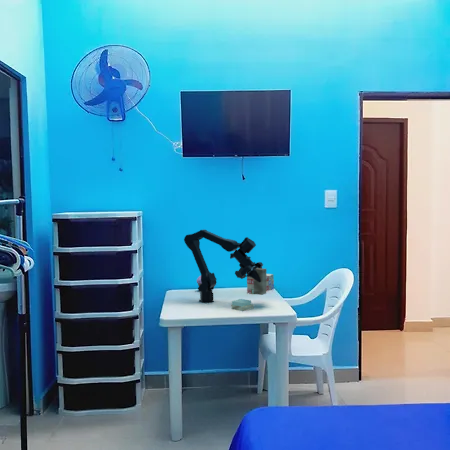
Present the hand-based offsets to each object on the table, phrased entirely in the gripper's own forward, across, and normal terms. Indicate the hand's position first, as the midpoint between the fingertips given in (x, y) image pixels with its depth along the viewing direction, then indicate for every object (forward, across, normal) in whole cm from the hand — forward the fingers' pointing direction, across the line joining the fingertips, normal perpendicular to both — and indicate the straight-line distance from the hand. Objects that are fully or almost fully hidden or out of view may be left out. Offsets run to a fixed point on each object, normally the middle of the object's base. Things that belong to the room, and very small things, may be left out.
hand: (262, 281), depth 241 cm
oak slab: (+4, +8, -16) cm, 18 cm away
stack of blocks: (-2, -40, -22) cm, 45 cm away
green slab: (+2, +8, -14) cm, 16 cm away
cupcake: (-26, -27, -46) cm, 59 cm away
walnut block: (+4, 0, -6) cm, 7 cm away
